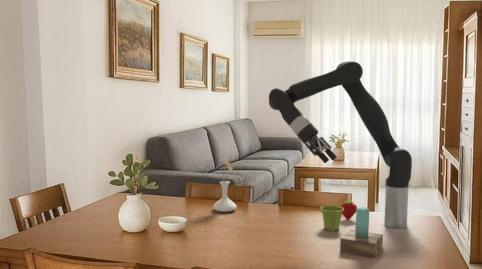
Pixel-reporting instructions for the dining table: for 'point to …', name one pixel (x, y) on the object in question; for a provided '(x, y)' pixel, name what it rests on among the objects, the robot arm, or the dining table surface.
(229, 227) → the dining table surface
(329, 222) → the plant pot
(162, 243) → the dining table surface
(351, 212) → the strawberry
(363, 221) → the teal post
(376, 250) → the walnut base
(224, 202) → the flower in vase
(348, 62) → the robot arm
